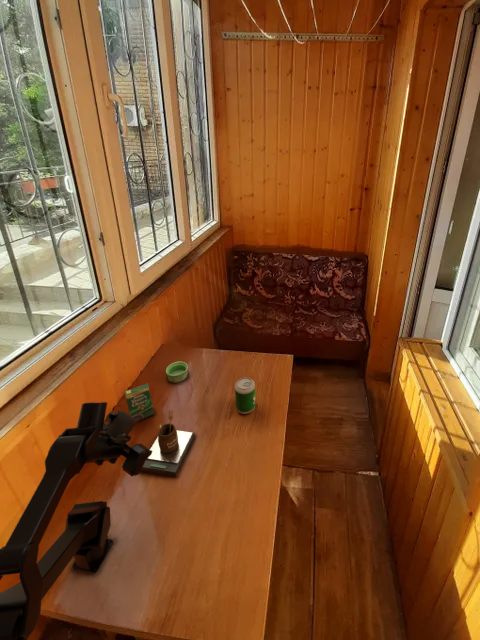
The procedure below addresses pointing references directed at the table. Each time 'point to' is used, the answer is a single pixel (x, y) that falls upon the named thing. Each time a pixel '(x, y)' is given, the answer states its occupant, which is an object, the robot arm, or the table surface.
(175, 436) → the utensil holder
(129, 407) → the coffee box
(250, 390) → the soda can
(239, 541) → the table surface
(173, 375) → the ramekin
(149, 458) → the kitchen scale
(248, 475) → the table surface
